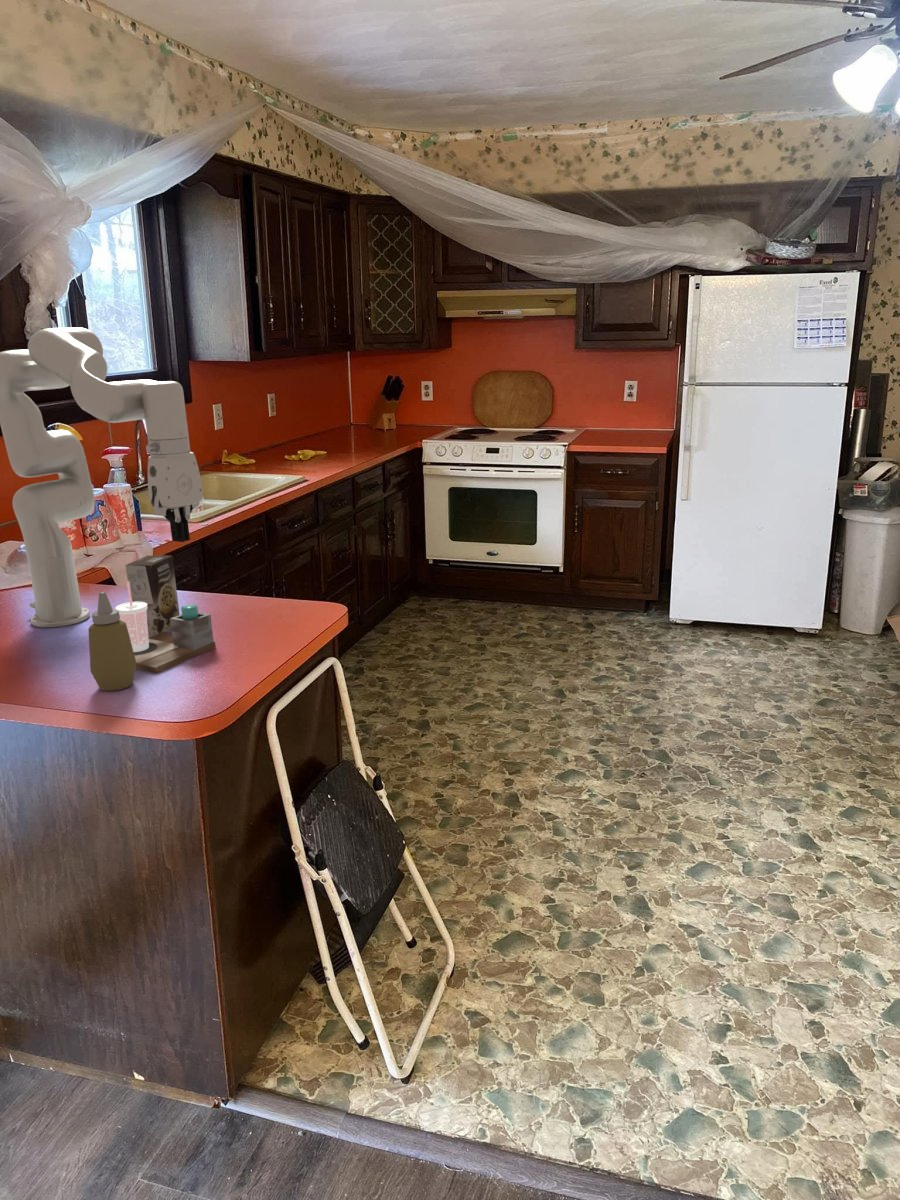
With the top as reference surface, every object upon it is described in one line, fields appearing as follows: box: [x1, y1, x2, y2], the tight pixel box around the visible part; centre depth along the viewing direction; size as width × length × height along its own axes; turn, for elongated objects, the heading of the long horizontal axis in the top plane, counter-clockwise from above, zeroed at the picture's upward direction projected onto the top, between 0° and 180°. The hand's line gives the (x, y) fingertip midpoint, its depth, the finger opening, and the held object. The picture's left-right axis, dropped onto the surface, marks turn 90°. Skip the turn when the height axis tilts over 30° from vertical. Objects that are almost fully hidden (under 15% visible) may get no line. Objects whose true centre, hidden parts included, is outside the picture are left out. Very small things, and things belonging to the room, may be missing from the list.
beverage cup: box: [114, 581, 149, 652], centre depth 179 cm, size 6×6×14 cm
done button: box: [180, 604, 199, 620], centre depth 182 cm, size 3×3×3 cm
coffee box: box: [125, 554, 181, 638], centre depth 194 cm, size 9×6×16 cm
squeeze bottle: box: [88, 591, 137, 692], centre depth 164 cm, size 8×8×18 cm
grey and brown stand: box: [134, 611, 217, 674], centre depth 181 cm, size 15×16×7 cm
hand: (181, 540), depth 177 cm, fingers closed
